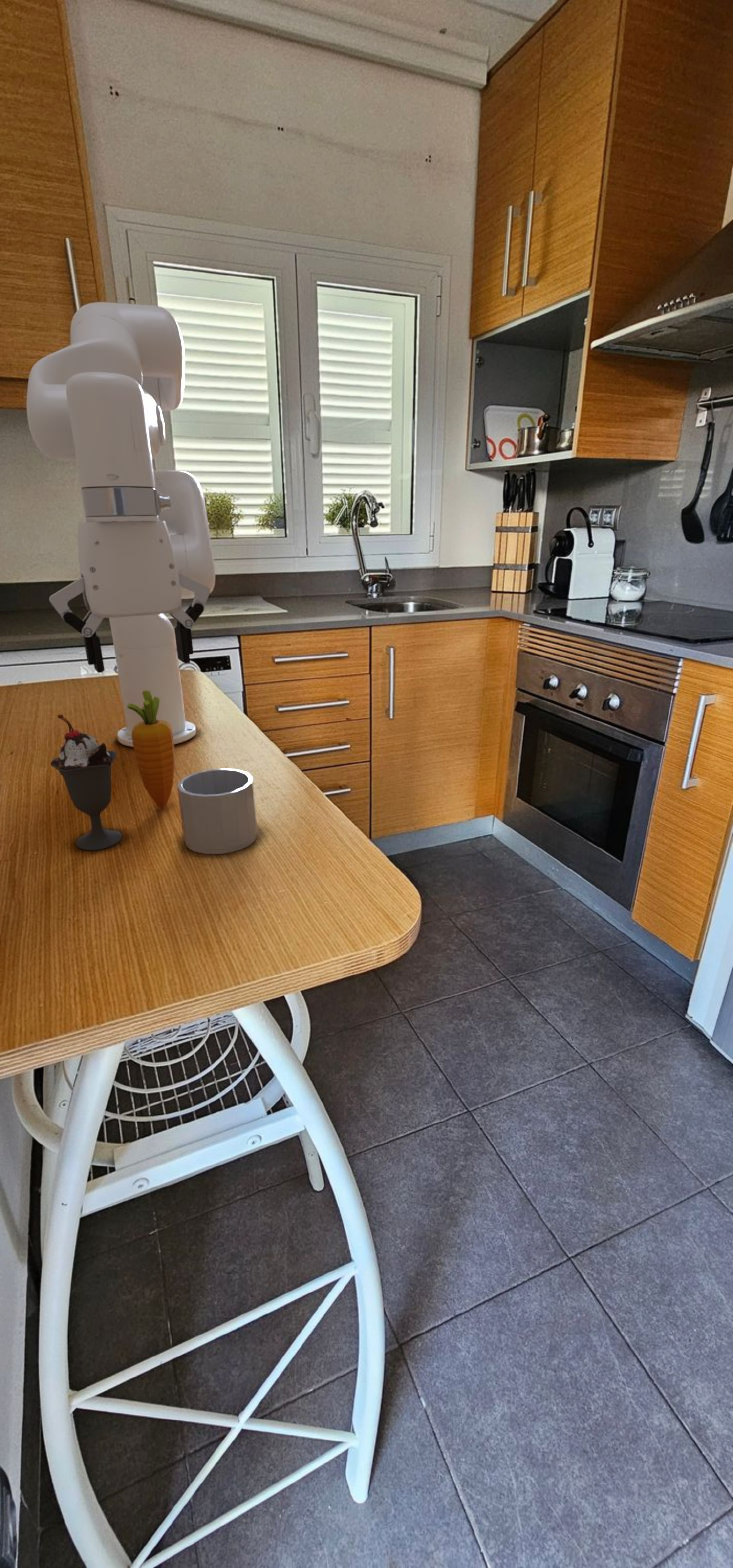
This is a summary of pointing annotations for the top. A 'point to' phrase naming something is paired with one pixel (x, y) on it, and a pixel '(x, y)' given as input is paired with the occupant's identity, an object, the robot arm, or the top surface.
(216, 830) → the gray cup
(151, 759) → the carrot
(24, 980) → the top surface
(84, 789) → the sundae
